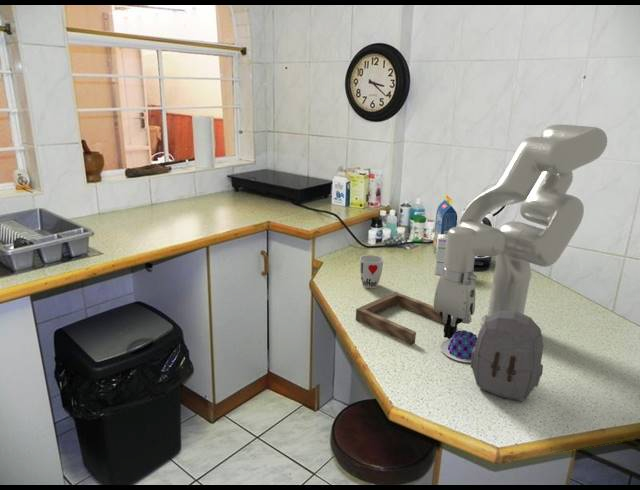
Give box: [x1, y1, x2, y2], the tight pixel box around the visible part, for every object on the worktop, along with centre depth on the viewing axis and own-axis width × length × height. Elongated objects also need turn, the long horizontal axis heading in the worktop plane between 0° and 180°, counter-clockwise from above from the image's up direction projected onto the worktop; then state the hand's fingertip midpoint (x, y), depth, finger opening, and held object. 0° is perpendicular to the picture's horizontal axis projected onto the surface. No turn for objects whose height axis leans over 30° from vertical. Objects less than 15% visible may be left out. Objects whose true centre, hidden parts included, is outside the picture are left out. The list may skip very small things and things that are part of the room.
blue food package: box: [432, 193, 458, 255], centre depth 196 cm, size 6×12×25 cm, turn 178°
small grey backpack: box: [470, 311, 545, 401], centre depth 103 cm, size 15×8×20 cm, turn 59°
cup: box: [359, 254, 384, 289], centre depth 162 cm, size 8×8×10 cm
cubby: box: [355, 291, 444, 346], centre depth 138 cm, size 20×19×4 cm
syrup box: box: [434, 234, 447, 276], centre depth 176 cm, size 6×6×14 cm
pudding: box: [439, 330, 478, 364], centre depth 122 cm, size 12×12×5 cm
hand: (449, 336), depth 127 cm, fingers closed
